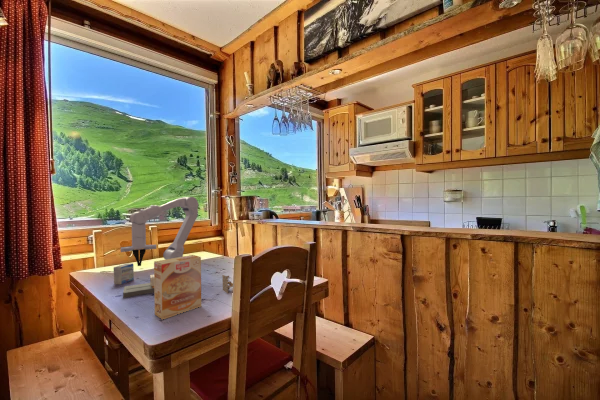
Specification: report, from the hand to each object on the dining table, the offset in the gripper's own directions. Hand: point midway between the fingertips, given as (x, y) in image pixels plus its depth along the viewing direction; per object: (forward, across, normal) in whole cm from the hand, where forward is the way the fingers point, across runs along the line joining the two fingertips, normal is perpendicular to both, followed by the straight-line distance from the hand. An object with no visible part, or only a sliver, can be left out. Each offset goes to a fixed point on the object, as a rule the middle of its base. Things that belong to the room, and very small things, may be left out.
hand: (139, 265), depth 128 cm
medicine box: (+11, -7, +14) cm, 19 cm away
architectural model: (+11, +34, -28) cm, 45 cm away
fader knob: (+8, +6, -7) cm, 12 cm away
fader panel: (+10, +2, -7) cm, 13 cm away
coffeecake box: (+11, +13, -39) cm, 42 cm away
